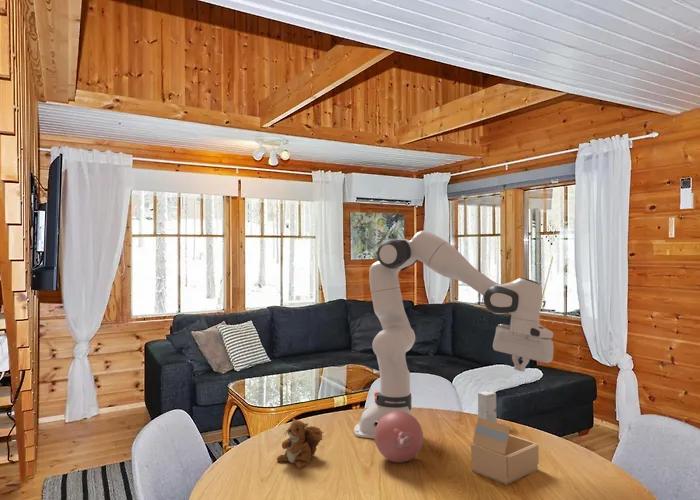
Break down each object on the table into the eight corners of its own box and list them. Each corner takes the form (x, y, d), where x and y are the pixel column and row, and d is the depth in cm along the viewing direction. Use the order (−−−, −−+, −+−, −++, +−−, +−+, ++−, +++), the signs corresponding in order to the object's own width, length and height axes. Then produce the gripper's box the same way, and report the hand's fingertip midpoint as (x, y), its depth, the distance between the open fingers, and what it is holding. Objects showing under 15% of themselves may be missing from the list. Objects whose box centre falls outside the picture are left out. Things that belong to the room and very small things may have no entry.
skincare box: (486, 427, 190) (486, 395, 190) (477, 424, 194) (477, 392, 194) (497, 424, 193) (497, 392, 193) (488, 421, 197) (488, 390, 197)
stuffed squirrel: (274, 462, 160) (274, 420, 160) (307, 449, 170) (306, 410, 170) (295, 471, 153) (294, 427, 153) (327, 457, 163) (327, 416, 163)
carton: (503, 456, 162) (503, 431, 163) (540, 470, 152) (540, 443, 152) (470, 470, 152) (470, 444, 152) (508, 486, 142) (507, 457, 142)
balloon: (374, 477, 148) (373, 425, 149) (375, 450, 168) (374, 404, 168) (426, 478, 147) (426, 425, 147) (421, 451, 167) (421, 405, 167)
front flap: (479, 417, 153) (477, 416, 153) (510, 426, 145) (509, 426, 144) (473, 443, 152) (472, 443, 151) (505, 454, 143) (503, 454, 143)
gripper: (491, 322, 170) (486, 363, 169) (547, 333, 154) (542, 378, 153) (502, 323, 174) (497, 363, 173) (558, 333, 158) (553, 377, 157)
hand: (519, 370), depth 163 cm, fingers closed
